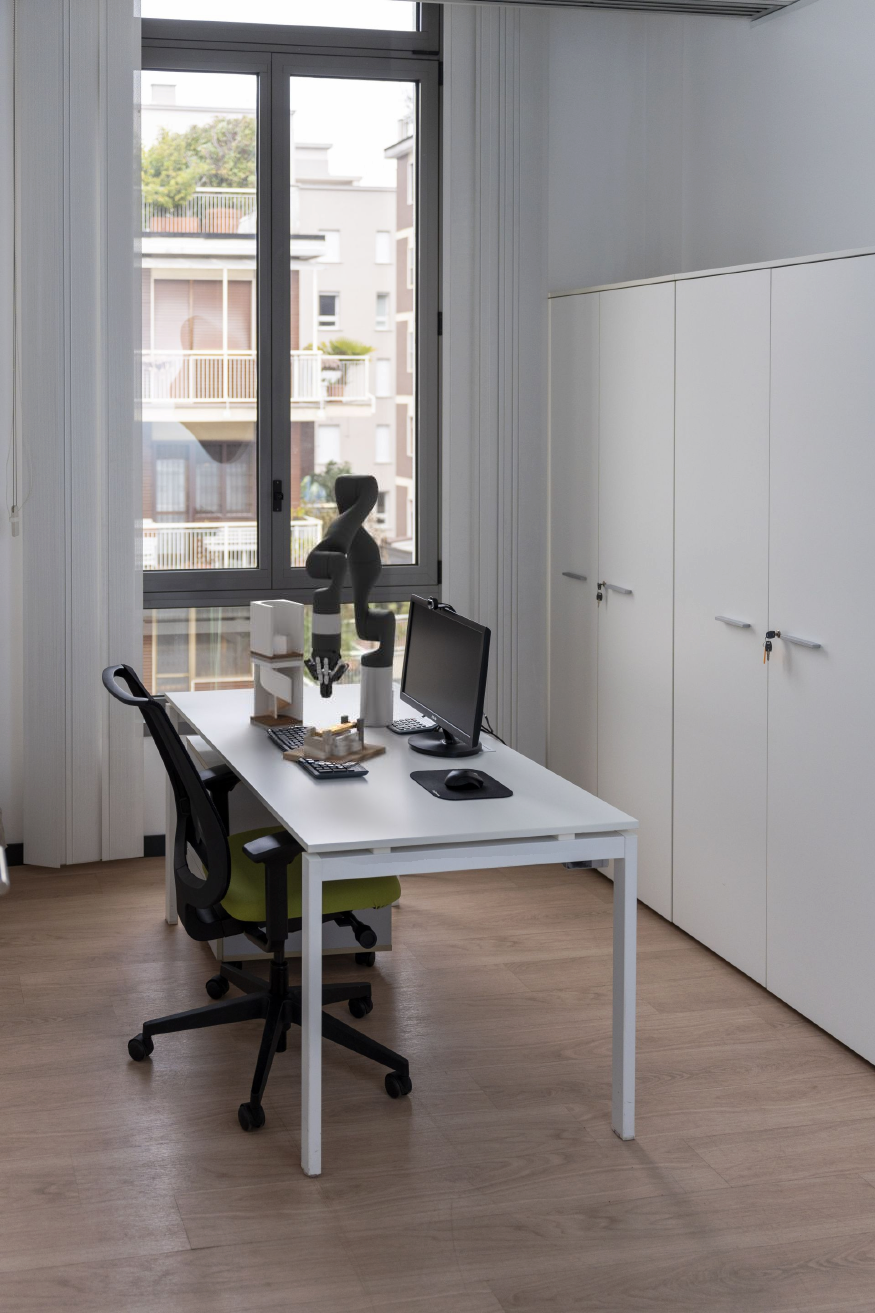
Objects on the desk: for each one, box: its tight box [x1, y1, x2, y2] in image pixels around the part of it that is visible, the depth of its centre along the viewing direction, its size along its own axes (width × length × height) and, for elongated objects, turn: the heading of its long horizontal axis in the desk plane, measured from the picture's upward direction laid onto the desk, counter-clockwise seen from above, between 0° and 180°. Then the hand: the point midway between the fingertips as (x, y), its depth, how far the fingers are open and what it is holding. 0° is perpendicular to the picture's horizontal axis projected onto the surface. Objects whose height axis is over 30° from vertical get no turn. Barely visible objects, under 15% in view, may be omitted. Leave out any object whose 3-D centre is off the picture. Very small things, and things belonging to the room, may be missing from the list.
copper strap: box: [315, 720, 357, 737], centre depth 344 cm, size 16×3×2 cm, turn 150°
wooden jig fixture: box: [282, 714, 387, 764], centre depth 344 cm, size 21×18×9 cm
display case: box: [249, 599, 305, 731], centre depth 374 cm, size 11×11×35 cm
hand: (326, 697), depth 338 cm, fingers closed
